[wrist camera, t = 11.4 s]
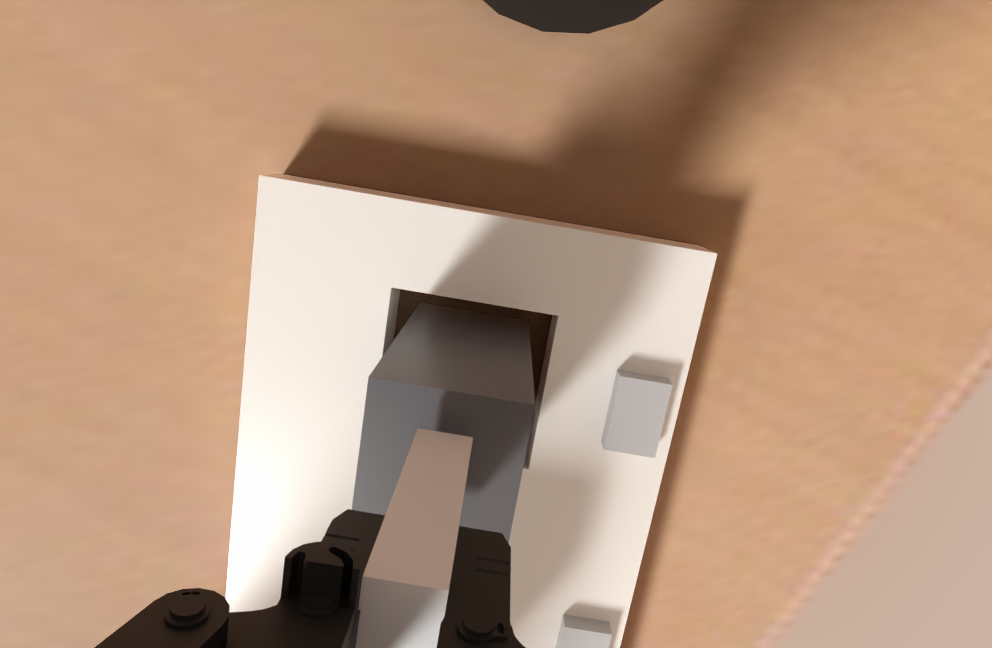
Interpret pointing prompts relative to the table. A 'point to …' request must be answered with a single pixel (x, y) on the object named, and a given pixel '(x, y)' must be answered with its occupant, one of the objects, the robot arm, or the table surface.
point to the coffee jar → (572, 13)
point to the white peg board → (559, 404)
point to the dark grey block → (451, 408)
